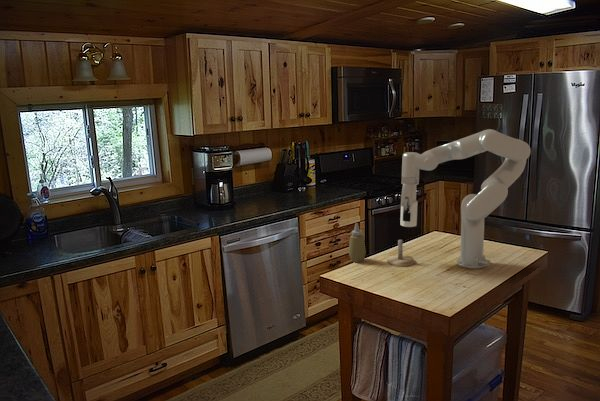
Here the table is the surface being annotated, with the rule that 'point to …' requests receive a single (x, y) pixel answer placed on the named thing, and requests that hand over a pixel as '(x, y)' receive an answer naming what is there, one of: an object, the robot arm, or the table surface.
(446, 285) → the table surface
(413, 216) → the paper roll
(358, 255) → the squeeze bottle
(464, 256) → the robot arm
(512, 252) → the table surface
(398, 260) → the roll stand
